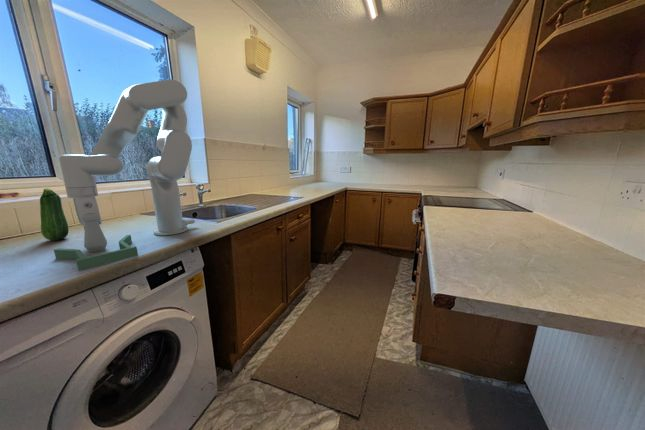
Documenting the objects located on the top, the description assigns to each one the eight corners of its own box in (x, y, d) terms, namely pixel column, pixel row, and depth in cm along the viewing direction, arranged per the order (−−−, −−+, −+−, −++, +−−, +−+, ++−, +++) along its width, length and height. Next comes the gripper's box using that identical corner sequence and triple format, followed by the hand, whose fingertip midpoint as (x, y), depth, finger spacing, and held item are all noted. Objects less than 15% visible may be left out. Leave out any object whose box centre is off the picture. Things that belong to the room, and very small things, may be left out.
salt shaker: (94, 254, 81) (86, 216, 78) (81, 252, 82) (72, 215, 79) (112, 247, 87) (105, 212, 84) (99, 246, 88) (92, 210, 85)
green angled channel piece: (131, 241, 93) (130, 234, 93) (148, 253, 82) (147, 244, 82) (55, 258, 78) (53, 249, 77) (64, 274, 67) (61, 264, 67)
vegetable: (56, 237, 99) (44, 187, 94) (76, 236, 99) (64, 187, 95) (38, 243, 91) (23, 189, 87) (59, 242, 92) (46, 189, 88)
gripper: (102, 193, 81) (112, 245, 85) (92, 189, 90) (102, 237, 94) (70, 195, 76) (82, 251, 80) (63, 191, 85) (75, 242, 89)
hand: (93, 243), depth 87 cm, fingers closed
